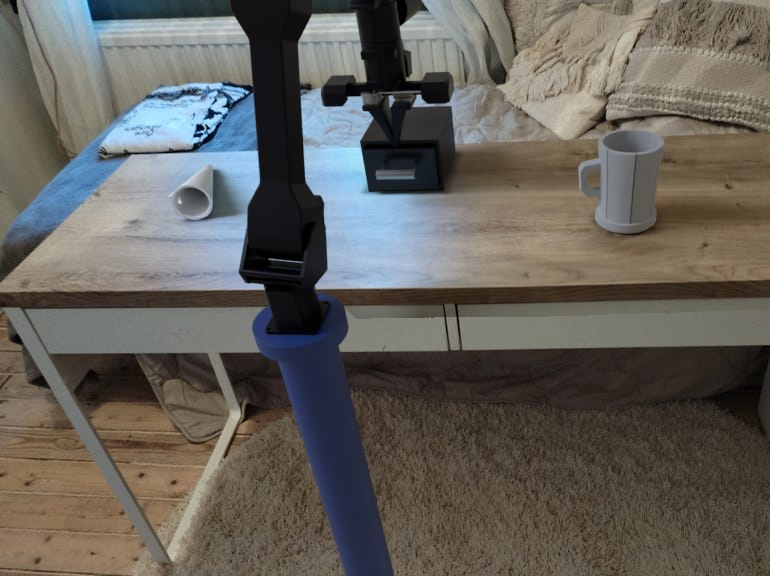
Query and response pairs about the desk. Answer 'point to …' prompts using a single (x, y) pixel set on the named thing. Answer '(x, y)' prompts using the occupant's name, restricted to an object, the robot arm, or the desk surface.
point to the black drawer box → (421, 138)
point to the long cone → (194, 195)
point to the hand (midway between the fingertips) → (396, 145)
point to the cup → (625, 180)
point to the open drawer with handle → (401, 167)
